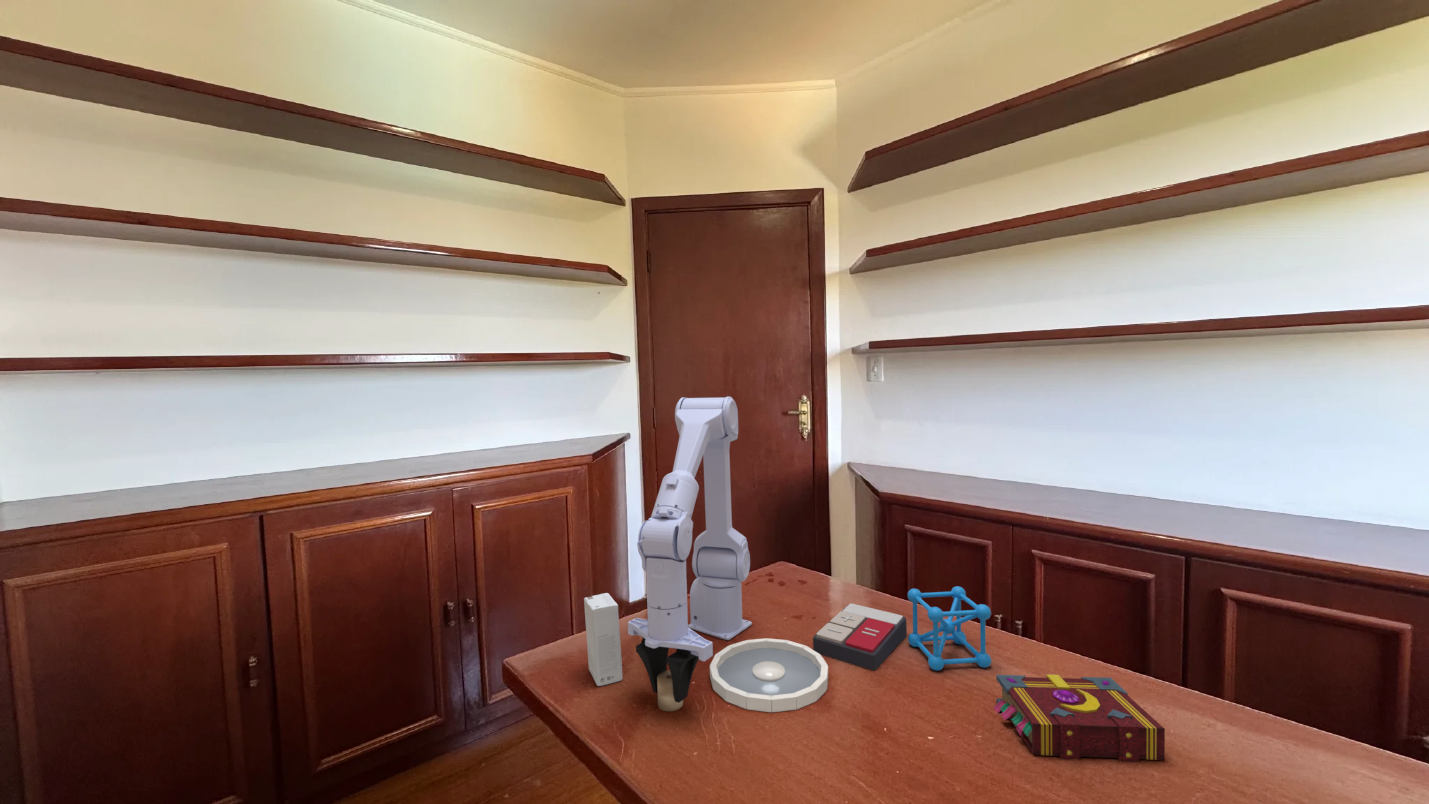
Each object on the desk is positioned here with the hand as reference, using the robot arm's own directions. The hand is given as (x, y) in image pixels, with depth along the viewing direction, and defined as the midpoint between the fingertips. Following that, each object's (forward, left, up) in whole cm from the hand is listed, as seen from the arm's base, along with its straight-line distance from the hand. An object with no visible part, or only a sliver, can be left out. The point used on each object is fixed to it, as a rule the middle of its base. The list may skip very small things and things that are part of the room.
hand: (670, 694), depth 81 cm
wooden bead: (0, 0, -1) cm, 1 cm away
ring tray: (+8, +14, -1) cm, 16 cm away
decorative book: (+47, +25, -2) cm, 53 cm away
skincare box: (-14, 0, -2) cm, 14 cm away
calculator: (+15, +32, -2) cm, 36 cm away
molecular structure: (+29, +36, -2) cm, 46 cm away
